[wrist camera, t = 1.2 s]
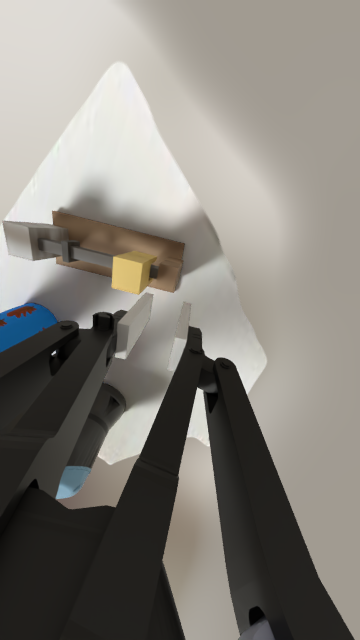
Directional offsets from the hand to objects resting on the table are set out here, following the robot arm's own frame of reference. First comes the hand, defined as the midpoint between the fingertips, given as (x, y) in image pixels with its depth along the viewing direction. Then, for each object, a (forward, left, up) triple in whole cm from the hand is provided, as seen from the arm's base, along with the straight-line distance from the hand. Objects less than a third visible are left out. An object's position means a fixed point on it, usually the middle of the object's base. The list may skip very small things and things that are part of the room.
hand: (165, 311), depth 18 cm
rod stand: (0, +14, -23) cm, 27 cm away
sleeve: (0, +7, -17) cm, 18 cm away
